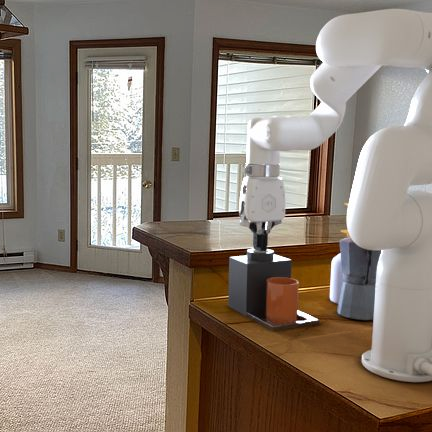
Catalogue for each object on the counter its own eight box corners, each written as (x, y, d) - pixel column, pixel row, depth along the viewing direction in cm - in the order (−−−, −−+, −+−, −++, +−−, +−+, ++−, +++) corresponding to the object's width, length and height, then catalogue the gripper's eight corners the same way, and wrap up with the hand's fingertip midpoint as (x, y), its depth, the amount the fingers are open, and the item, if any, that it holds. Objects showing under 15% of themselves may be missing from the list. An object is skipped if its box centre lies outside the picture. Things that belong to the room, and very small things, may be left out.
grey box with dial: (289, 310, 131) (292, 252, 129) (246, 316, 126) (247, 256, 124) (270, 301, 138) (272, 246, 136) (228, 306, 134) (229, 249, 132)
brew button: (269, 258, 130) (270, 250, 129) (258, 259, 128) (258, 251, 128) (262, 255, 133) (262, 248, 132) (250, 256, 131) (250, 249, 131)
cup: (303, 322, 122) (305, 283, 121) (277, 326, 120) (278, 286, 118) (284, 313, 128) (286, 275, 127) (259, 317, 126) (260, 278, 125)
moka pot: (370, 306, 134) (375, 224, 131) (392, 328, 118) (398, 236, 116) (329, 305, 135) (333, 224, 132) (346, 327, 119) (351, 235, 117)
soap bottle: (322, 298, 141) (327, 201, 137) (352, 295, 143) (357, 200, 140) (344, 308, 132) (350, 206, 129) (376, 305, 135) (383, 204, 131)
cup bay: (319, 324, 121) (319, 319, 121) (272, 331, 117) (273, 326, 117) (289, 310, 131) (290, 306, 131) (246, 316, 126) (246, 312, 126)
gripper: (243, 173, 122) (241, 255, 124) (299, 172, 127) (296, 250, 130) (226, 171, 128) (224, 249, 131) (280, 170, 134) (277, 244, 137)
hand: (260, 249), depth 130 cm, fingers closed
